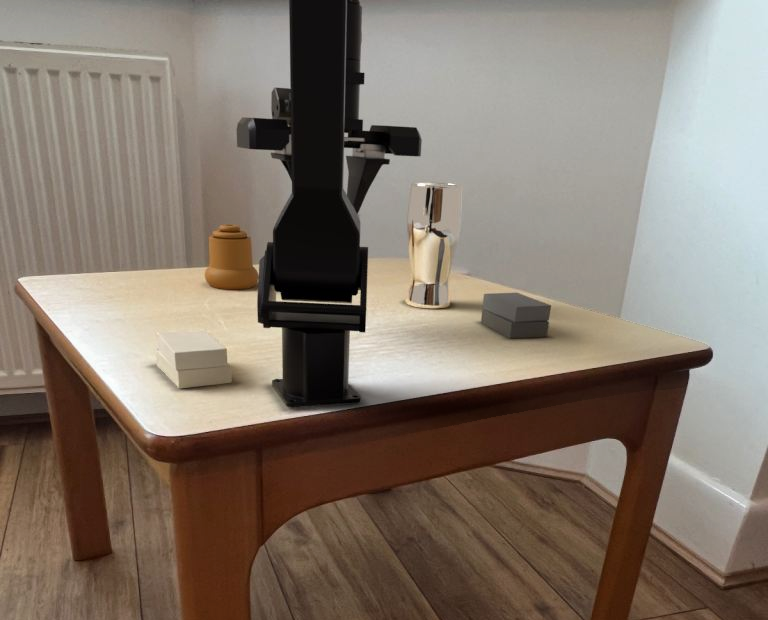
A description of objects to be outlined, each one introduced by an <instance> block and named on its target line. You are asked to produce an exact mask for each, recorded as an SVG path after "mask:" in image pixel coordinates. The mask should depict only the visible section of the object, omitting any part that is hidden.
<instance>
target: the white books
mask: <svg viewBox="0 0 768 620" xmlns="http://www.w3.org/2000/svg"><path fill="white" fill-rule="evenodd" d="M156 340H157V348H155V350H154V352H155V359H156V366H157V367H158V369H160V370H161V372H162V373H163V374H164V375H165V376H166V377H167V378H168V379H169V380H170V381H171V382H172V383H173V385H175V386H176V387H177V388H178V389H179V390H180V389H189V388H196V387H206V386H214V385H215V386H216V385H224V384H231V383H232V381H233V380H232V379H233V378H232V366H231V364H230V363H228V348H226V346H224V345H223V344H222V343H221V342H220V341H219V339H218V340H217V338H216V337H215V336H213V335H212V334H211V332H209V331H208V330H207V329H206V328H203V329H188V330H174V331H157V332H156Z"/></svg>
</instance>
